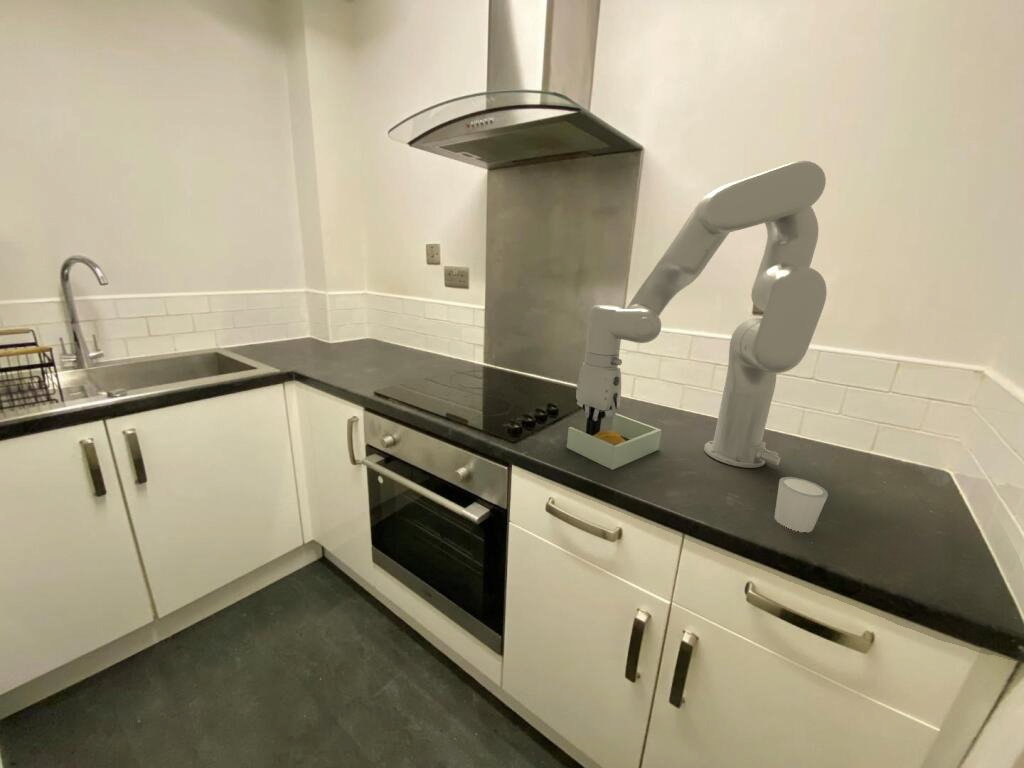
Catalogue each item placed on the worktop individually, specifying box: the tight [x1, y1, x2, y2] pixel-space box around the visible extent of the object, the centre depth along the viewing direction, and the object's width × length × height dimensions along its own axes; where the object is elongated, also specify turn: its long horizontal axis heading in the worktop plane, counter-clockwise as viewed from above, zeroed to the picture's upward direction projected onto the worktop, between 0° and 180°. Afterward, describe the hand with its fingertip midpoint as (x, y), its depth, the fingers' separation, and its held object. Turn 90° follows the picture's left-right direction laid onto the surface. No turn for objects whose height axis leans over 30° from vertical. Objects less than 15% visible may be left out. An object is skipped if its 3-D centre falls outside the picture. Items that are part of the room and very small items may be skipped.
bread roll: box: [593, 430, 626, 446], centre depth 96 cm, size 8×9×4 cm
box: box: [566, 412, 662, 471], centre depth 96 cm, size 13×18×5 cm
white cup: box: [774, 476, 829, 533], centre depth 71 cm, size 7×7×7 cm
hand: (592, 433), depth 101 cm, fingers closed
